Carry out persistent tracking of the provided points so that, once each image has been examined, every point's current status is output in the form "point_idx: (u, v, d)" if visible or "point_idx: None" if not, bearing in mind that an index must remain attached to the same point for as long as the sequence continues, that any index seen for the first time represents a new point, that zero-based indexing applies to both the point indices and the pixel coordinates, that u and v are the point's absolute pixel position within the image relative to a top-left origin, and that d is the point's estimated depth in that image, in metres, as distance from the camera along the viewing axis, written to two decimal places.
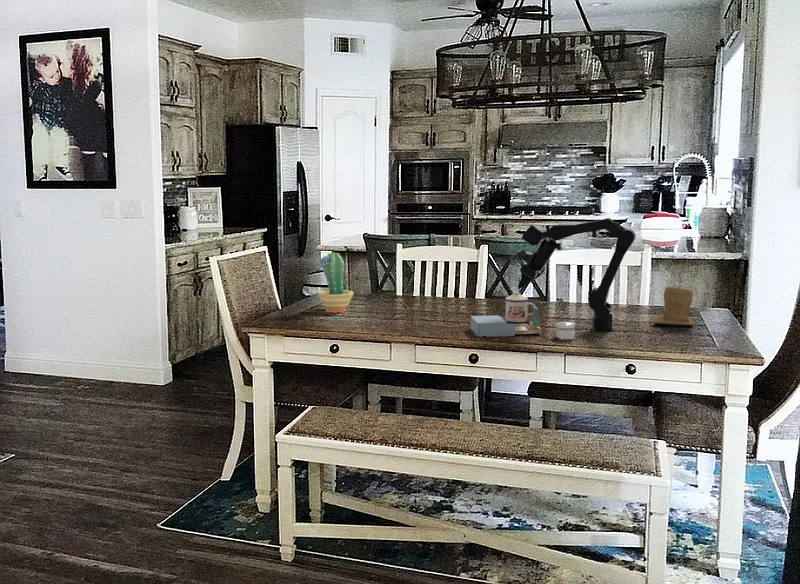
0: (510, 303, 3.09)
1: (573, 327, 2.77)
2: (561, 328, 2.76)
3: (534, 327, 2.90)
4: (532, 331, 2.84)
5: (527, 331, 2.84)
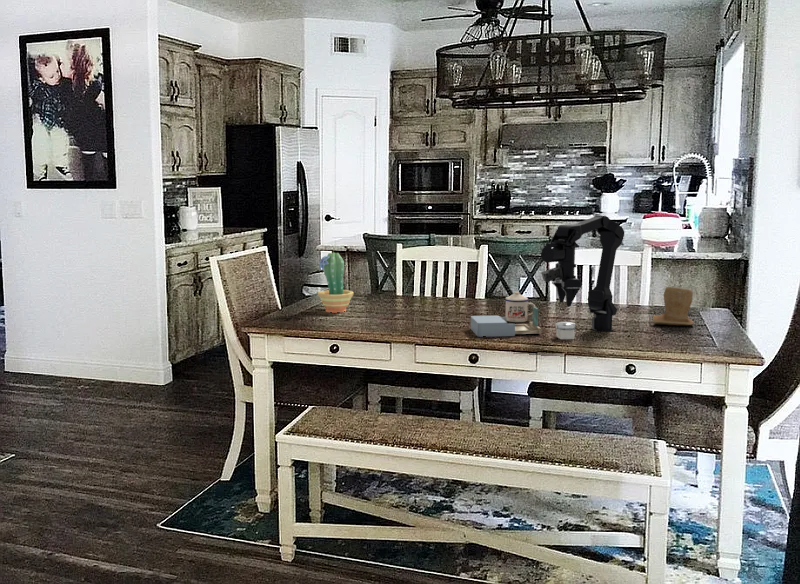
0: (510, 303, 3.09)
1: (573, 327, 2.77)
2: (561, 328, 2.76)
3: (534, 327, 2.90)
4: (532, 331, 2.84)
5: (527, 331, 2.84)
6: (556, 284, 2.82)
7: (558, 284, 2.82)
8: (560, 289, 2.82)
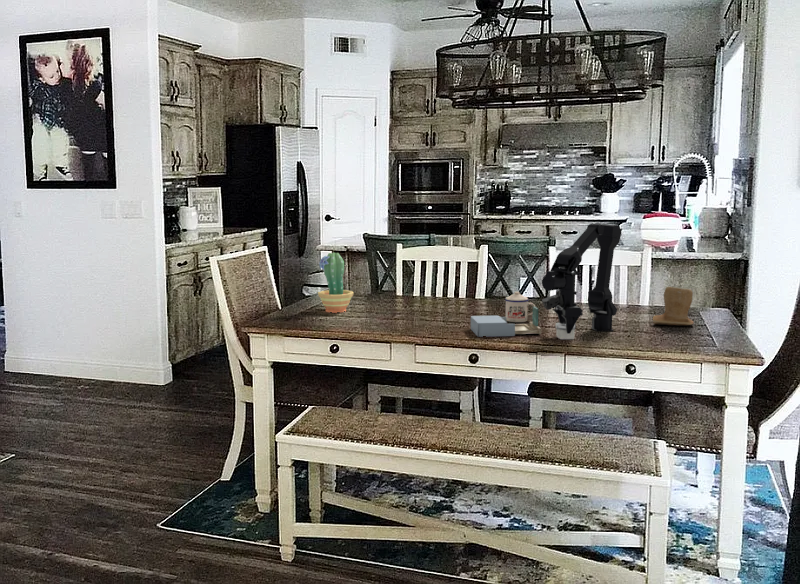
0: (510, 303, 3.09)
1: (573, 327, 2.77)
2: (561, 328, 2.76)
3: (534, 327, 2.90)
4: (532, 331, 2.84)
5: (527, 331, 2.84)
6: (557, 311, 2.82)
7: (559, 311, 2.82)
8: (561, 316, 2.83)
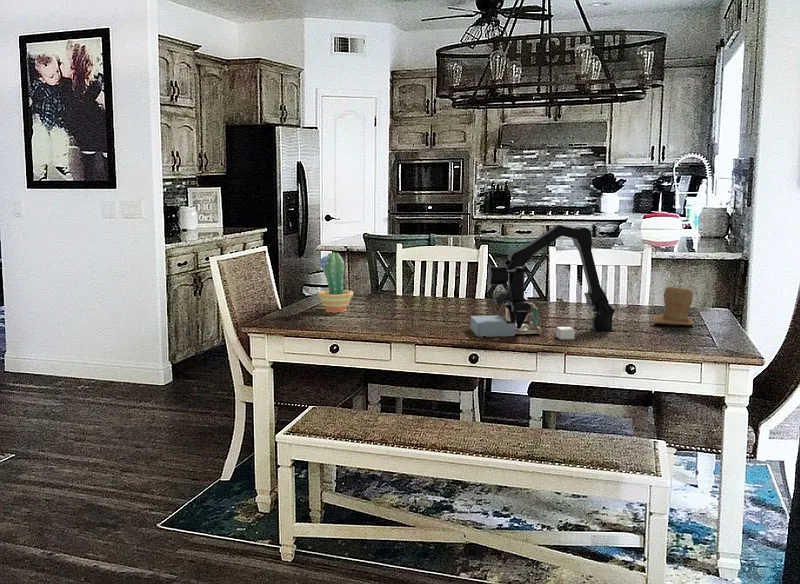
0: None
1: (522, 328, 2.87)
2: None
3: (534, 327, 2.90)
4: (532, 331, 2.84)
5: (527, 331, 2.84)
6: (508, 306, 2.94)
7: (509, 306, 2.94)
8: (511, 311, 2.94)
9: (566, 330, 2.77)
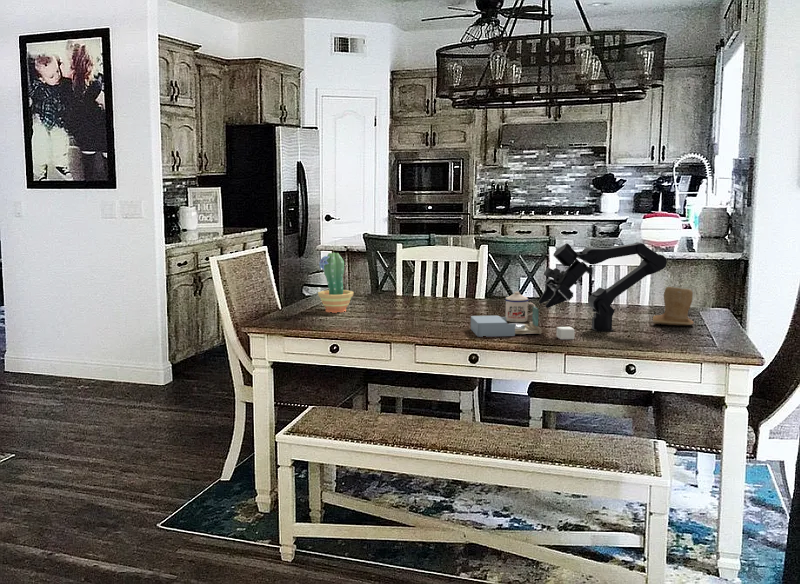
0: (510, 303, 3.09)
1: (522, 328, 2.87)
2: None
3: (534, 327, 2.90)
4: (532, 331, 2.84)
5: (527, 331, 2.84)
6: (547, 287, 2.94)
7: (549, 288, 2.94)
8: (547, 293, 2.94)
9: (566, 330, 2.77)
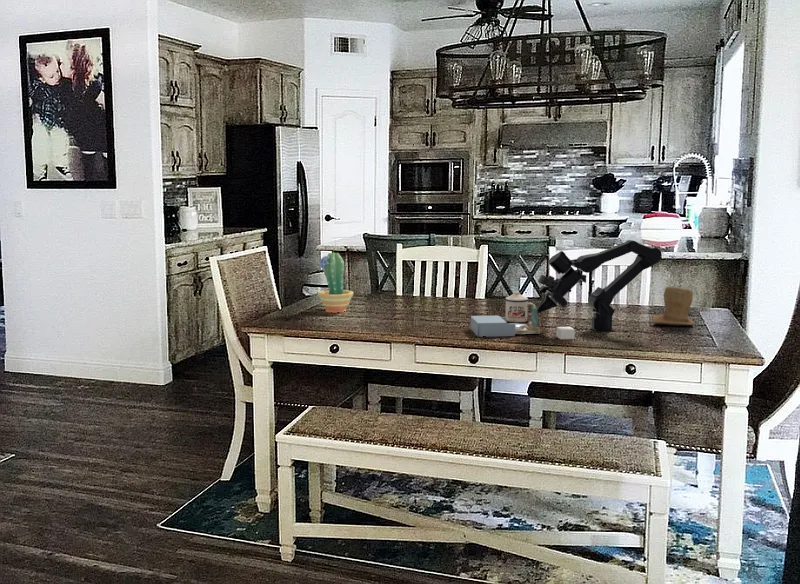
0: (510, 303, 3.09)
1: (521, 328, 2.87)
2: None
3: (533, 327, 2.90)
4: (531, 331, 2.84)
5: (526, 331, 2.84)
6: (545, 296, 2.90)
7: None
8: None
9: (566, 330, 2.77)
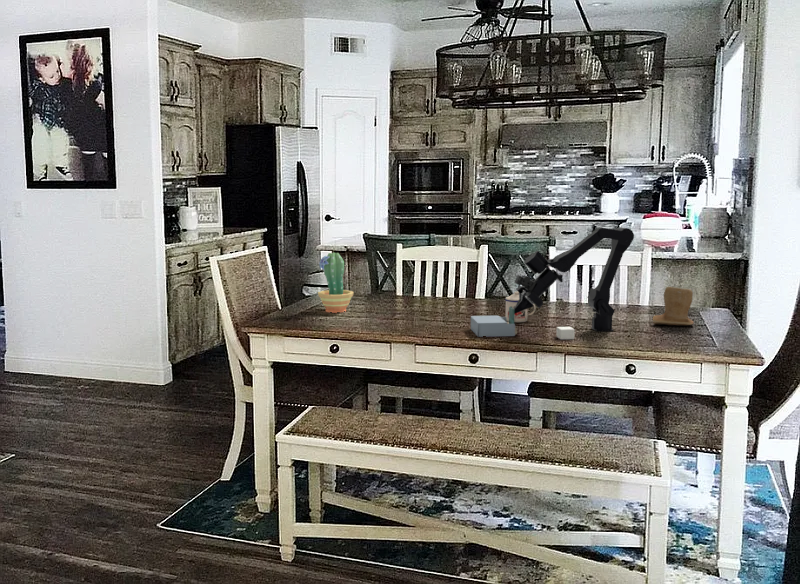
0: (510, 303, 3.09)
1: None
2: None
3: None
4: None
5: None
6: None
7: None
8: None
9: (566, 330, 2.77)
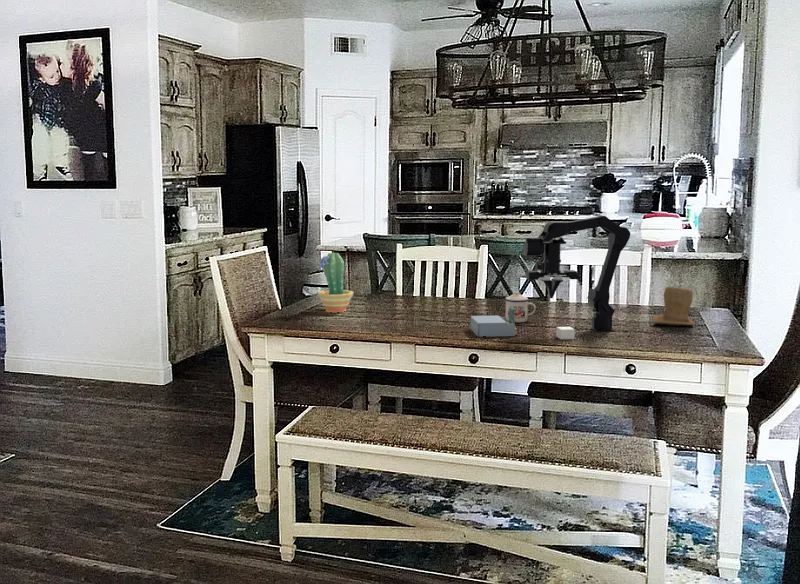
0: (510, 303, 3.09)
1: None
2: None
3: None
4: None
5: None
6: (552, 280, 2.90)
7: (552, 280, 2.90)
8: (552, 285, 2.89)
9: (566, 330, 2.77)
